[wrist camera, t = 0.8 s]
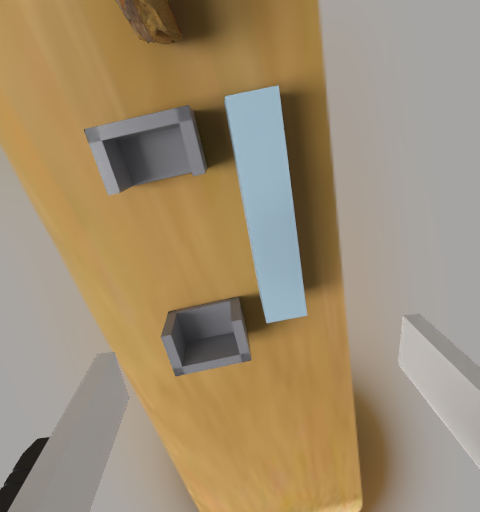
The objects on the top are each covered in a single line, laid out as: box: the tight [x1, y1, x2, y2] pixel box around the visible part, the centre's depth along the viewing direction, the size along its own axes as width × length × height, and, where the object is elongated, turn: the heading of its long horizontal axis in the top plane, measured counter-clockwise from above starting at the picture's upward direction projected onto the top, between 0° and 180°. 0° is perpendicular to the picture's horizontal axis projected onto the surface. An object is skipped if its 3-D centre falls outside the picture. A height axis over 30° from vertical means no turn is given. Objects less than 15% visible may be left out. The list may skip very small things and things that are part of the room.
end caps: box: [84, 105, 251, 376], centre depth 29 cm, size 24×8×5 cm, turn 12°
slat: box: [224, 85, 307, 323], centre depth 28 cm, size 20×4×5 cm, turn 11°
